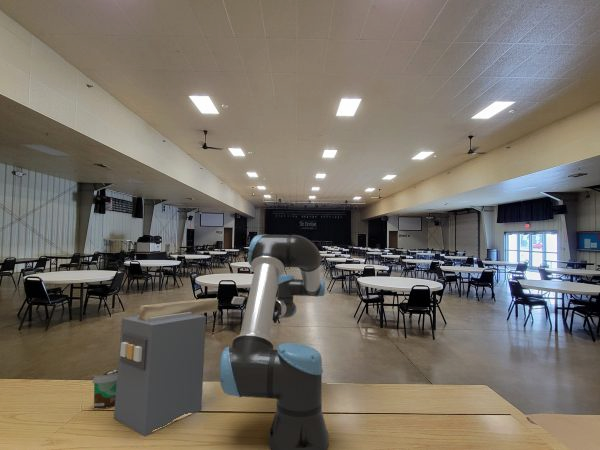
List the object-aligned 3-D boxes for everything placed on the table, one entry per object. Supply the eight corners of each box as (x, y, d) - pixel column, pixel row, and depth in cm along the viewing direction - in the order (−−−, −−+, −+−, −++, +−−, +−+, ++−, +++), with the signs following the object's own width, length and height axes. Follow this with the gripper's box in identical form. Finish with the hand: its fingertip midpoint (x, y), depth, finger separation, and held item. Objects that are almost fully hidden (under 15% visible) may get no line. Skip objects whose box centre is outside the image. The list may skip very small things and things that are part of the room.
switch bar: (217, 310, 111) (218, 299, 111) (147, 321, 89) (148, 307, 90) (209, 309, 113) (210, 298, 114) (139, 319, 92) (140, 305, 92)
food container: (107, 413, 93) (110, 377, 94) (89, 410, 94) (92, 376, 95) (136, 396, 105) (138, 364, 106) (120, 394, 106) (123, 363, 107)
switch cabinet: (201, 409, 96) (206, 313, 99) (139, 438, 80) (148, 322, 83) (169, 396, 105) (175, 308, 108) (108, 420, 89) (117, 315, 92)
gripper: (293, 330, 130) (267, 333, 111) (249, 304, 142) (219, 302, 123) (301, 313, 130) (275, 313, 112) (256, 289, 142) (226, 285, 124)
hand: (245, 308), depth 117 cm, fingers open, 13 cm apart
